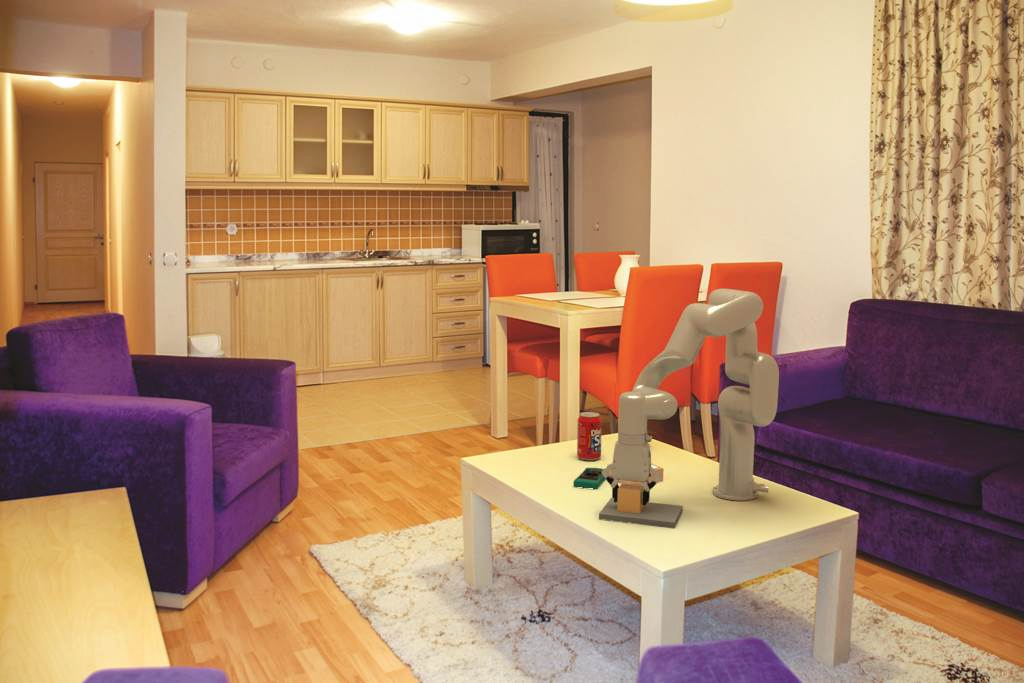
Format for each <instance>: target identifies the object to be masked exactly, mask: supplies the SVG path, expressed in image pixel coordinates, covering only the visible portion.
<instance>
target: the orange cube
mask: <svg viewBox="0 0 1024 683" xmlns="http://www.w3.org/2000/svg"><path fill="white" fill-rule="evenodd" d="M643 491H644V487H643V485H642V484H638V483H627V482H622V483H621V484H620V485H619V488H618V501H617V511H624V512H632V513H640V512H641V510H642V508H643V507H644V506H643Z"/></svg>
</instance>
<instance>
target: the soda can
mask: <svg viewBox="0 0 1024 683" xmlns="http://www.w3.org/2000/svg"><path fill="white" fill-rule="evenodd" d="M602 422H603V419H602V418H601V416H600V413H598V412H594V411H593V412H592V411H586V412H585V411H584V412H581V413H579V417H578V418H577V439H576V444H577V445H576V446H577V447H576V450H577V451H576V455H577V458H578V459H581V460H582V461H585V460H586V461H587V462H593V460H594V461H597V460H599V459H600V458H601V457H602V430H603V429H602V426H603V425H602V424H603V423H602Z"/></svg>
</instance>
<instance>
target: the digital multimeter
mask: <svg viewBox="0 0 1024 683" xmlns="http://www.w3.org/2000/svg"><path fill="white" fill-rule="evenodd" d="M604 469H605V468H601V467H600V468H599V467H586V468H585V469H584V470H583V471H582V472H581V473H580V474H579V476H577V477H576V478H575V479H574V480H573V487H574V488H577V487H582V488H581V489H584V488H593V489H592V490H595V489H597V490H598V489H599V488H598V487H601V485H602V483H603V482H604V481H605V480H606V478H605V477H604V476H603V475H602V473H601V472H602V470H604ZM600 484H601V485H600Z"/></svg>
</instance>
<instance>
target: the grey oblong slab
mask: <svg viewBox="0 0 1024 683" xmlns="http://www.w3.org/2000/svg"><path fill="white" fill-rule="evenodd" d="M683 510H684V506H683V505H677V504H668V503H660V502H651V501H649V502H647V504H646V506H644V507H643V508H642V510H641V512H640V513H632V512H624V511H617V502H614V498H612V497H611V498H610V499H609V500H608V501H607V502H606V503H605V505H604V506H603V508H602V509H601V510H600V511H599V513H598V520H602V519H606V520H605V521H610V520H613V522H619V521H622V522H621V523H627V522H631V523H630V524H635V523H637V524H636V525H638V524H639V525H646V526H654V527H662V528H668V529H670V528H671V529H675V527H677V526H676V525H677V524H678V522H679V519H680V517H681V516H682V514H683V512H682V511H683ZM681 513H682V514H681ZM680 515H681V516H680Z"/></svg>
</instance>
